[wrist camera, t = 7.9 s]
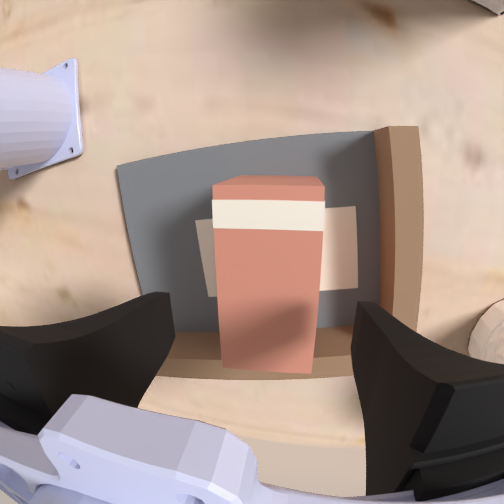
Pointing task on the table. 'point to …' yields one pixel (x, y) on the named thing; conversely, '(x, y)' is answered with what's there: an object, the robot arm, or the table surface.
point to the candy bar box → (492, 5)
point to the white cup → (489, 335)
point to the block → (268, 270)
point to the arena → (333, 248)
